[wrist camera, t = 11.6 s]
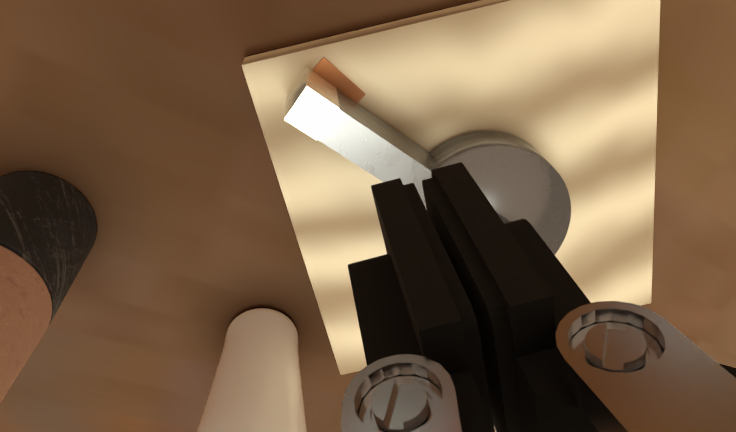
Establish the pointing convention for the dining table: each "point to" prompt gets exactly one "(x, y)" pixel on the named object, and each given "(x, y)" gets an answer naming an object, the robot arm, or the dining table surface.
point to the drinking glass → (257, 377)
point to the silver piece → (436, 156)
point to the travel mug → (37, 259)
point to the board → (476, 113)
